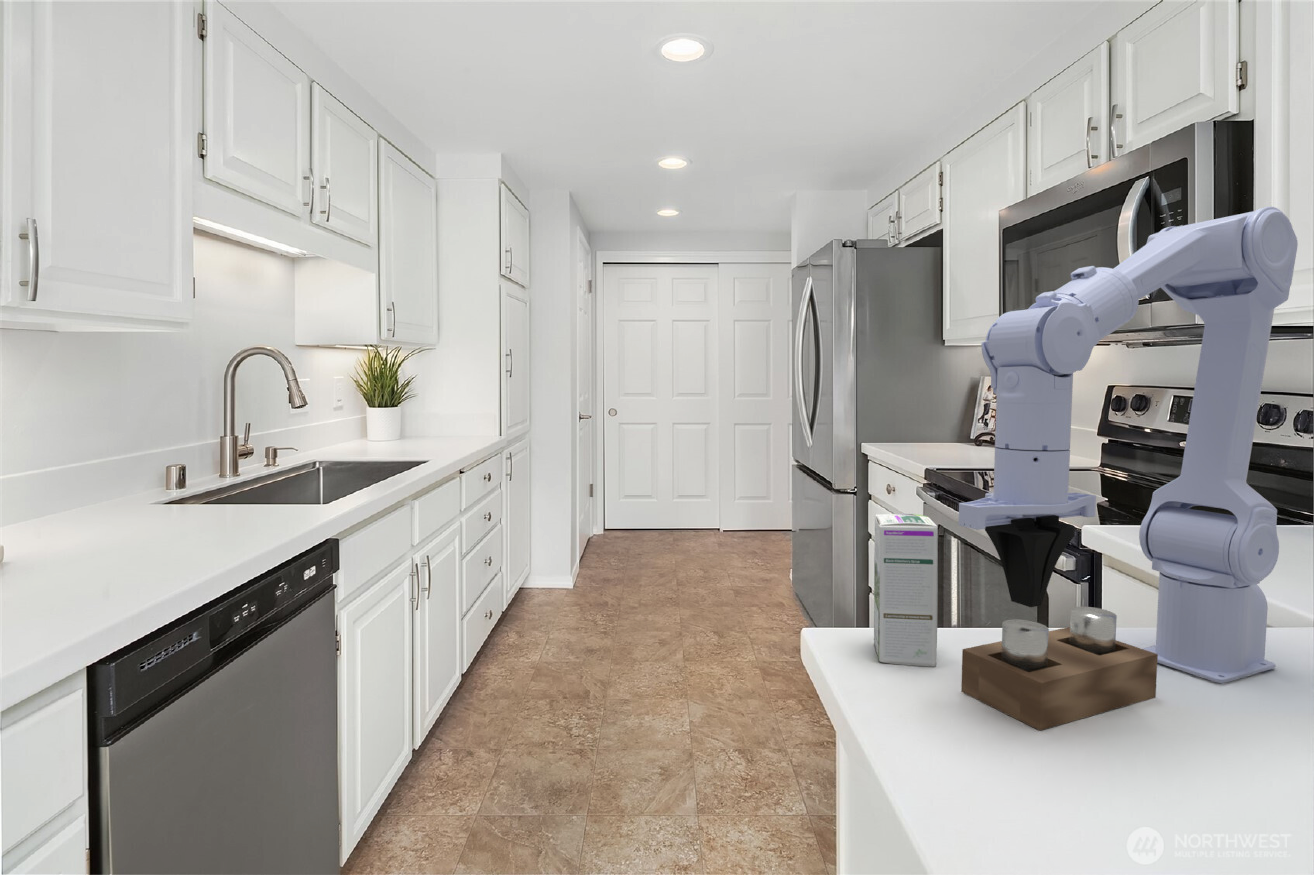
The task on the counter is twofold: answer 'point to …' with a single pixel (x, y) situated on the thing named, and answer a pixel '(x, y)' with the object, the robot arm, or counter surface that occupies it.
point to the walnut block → (1060, 681)
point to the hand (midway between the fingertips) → (1025, 603)
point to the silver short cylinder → (1093, 630)
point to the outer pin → (1025, 644)
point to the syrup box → (905, 589)
